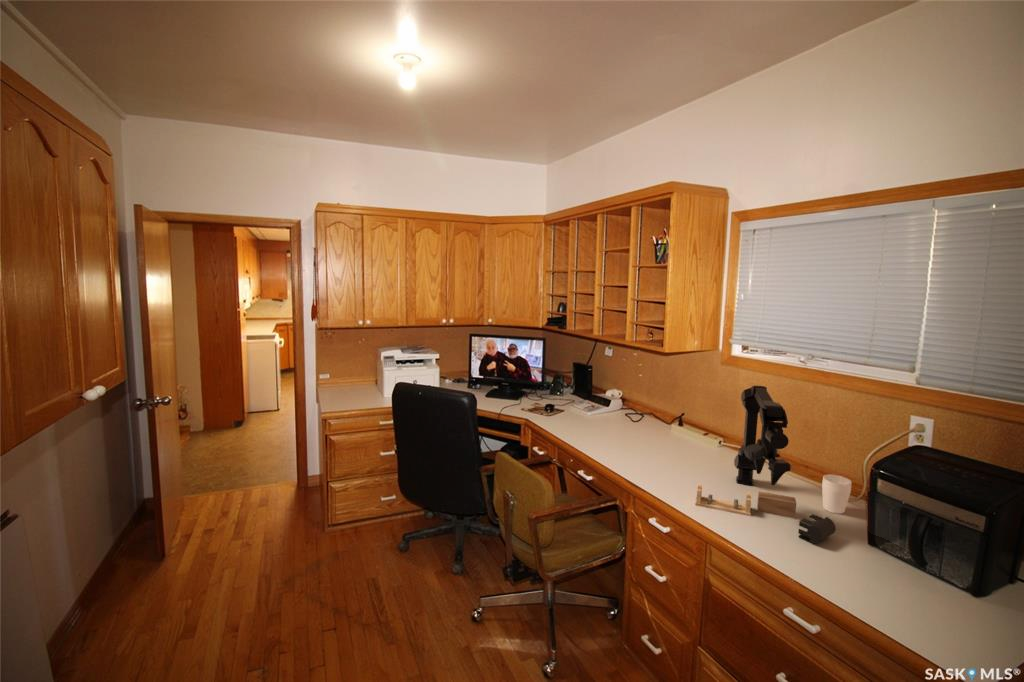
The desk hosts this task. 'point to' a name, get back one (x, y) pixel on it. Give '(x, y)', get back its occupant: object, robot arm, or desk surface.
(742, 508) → the peg frame
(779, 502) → the brown rectangular block
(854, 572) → the desk surface
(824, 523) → the end cap
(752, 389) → the robot arm
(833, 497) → the cup
